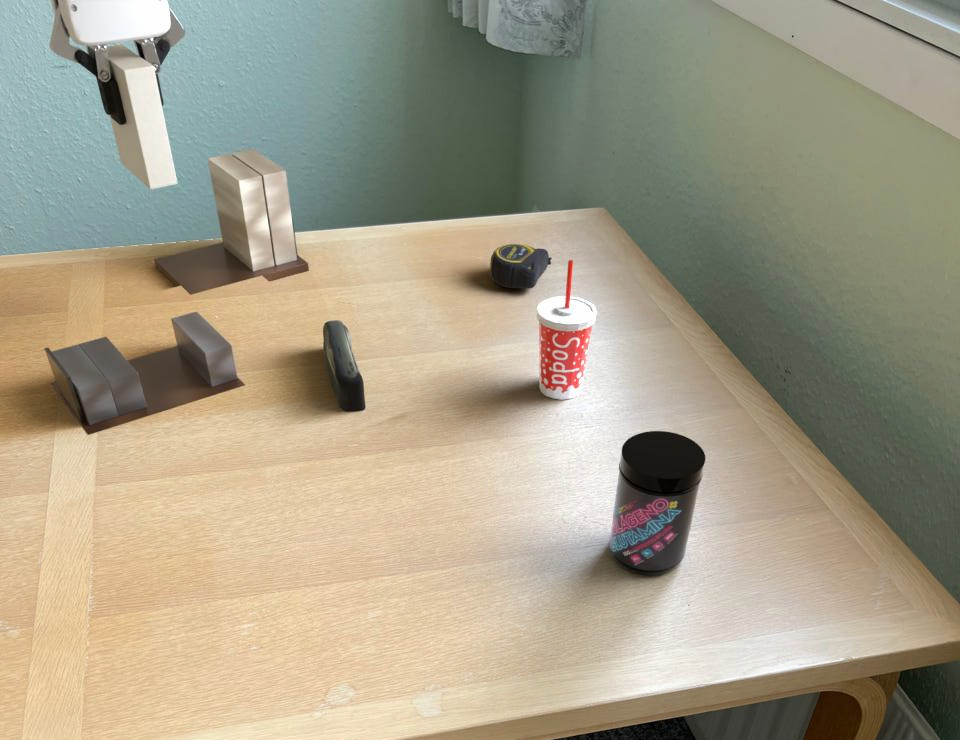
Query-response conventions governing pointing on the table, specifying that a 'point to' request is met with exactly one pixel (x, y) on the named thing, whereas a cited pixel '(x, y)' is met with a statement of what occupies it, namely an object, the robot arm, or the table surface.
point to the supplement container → (655, 501)
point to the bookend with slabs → (242, 228)
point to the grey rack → (142, 375)
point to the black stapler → (343, 367)
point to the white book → (141, 120)
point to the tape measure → (518, 265)
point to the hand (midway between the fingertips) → (136, 116)
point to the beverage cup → (564, 342)
